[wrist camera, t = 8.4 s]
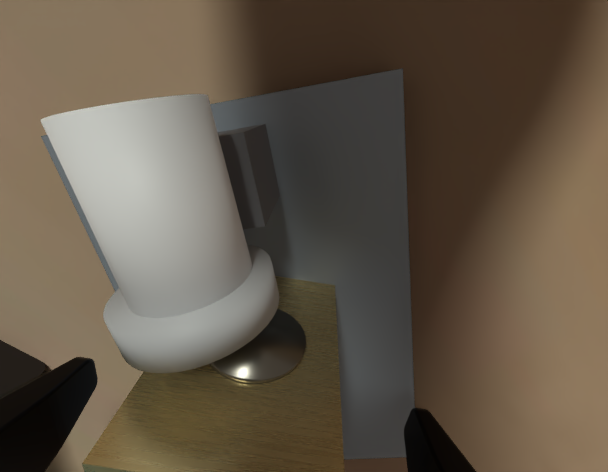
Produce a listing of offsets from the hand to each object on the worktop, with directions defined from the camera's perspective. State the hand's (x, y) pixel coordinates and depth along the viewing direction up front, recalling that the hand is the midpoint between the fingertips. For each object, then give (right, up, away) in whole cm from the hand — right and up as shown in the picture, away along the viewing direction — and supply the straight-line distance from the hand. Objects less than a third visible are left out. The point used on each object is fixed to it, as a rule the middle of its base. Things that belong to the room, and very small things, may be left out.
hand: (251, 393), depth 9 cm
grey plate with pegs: (0, +1, +3) cm, 4 cm away
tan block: (0, +1, +2) cm, 3 cm away
